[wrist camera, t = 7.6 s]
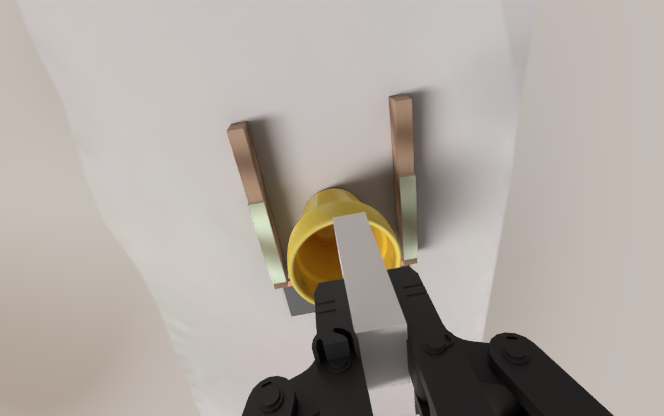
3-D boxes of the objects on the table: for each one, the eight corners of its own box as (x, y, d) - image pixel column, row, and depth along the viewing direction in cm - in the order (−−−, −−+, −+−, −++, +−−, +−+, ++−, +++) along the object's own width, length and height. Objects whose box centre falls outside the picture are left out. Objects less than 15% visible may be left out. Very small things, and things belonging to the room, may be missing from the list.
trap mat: (281, 280, 42) (281, 282, 42) (407, 257, 42) (407, 259, 42) (291, 314, 45) (291, 316, 44) (408, 293, 45) (409, 295, 45)
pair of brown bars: (230, 124, 32) (225, 132, 30) (404, 93, 33) (413, 99, 30) (275, 275, 41) (274, 290, 39) (411, 250, 42) (418, 264, 39)
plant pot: (396, 214, 39) (425, 267, 30) (329, 265, 42) (339, 327, 33) (339, 152, 35) (354, 194, 26) (268, 212, 37) (261, 269, 29)
